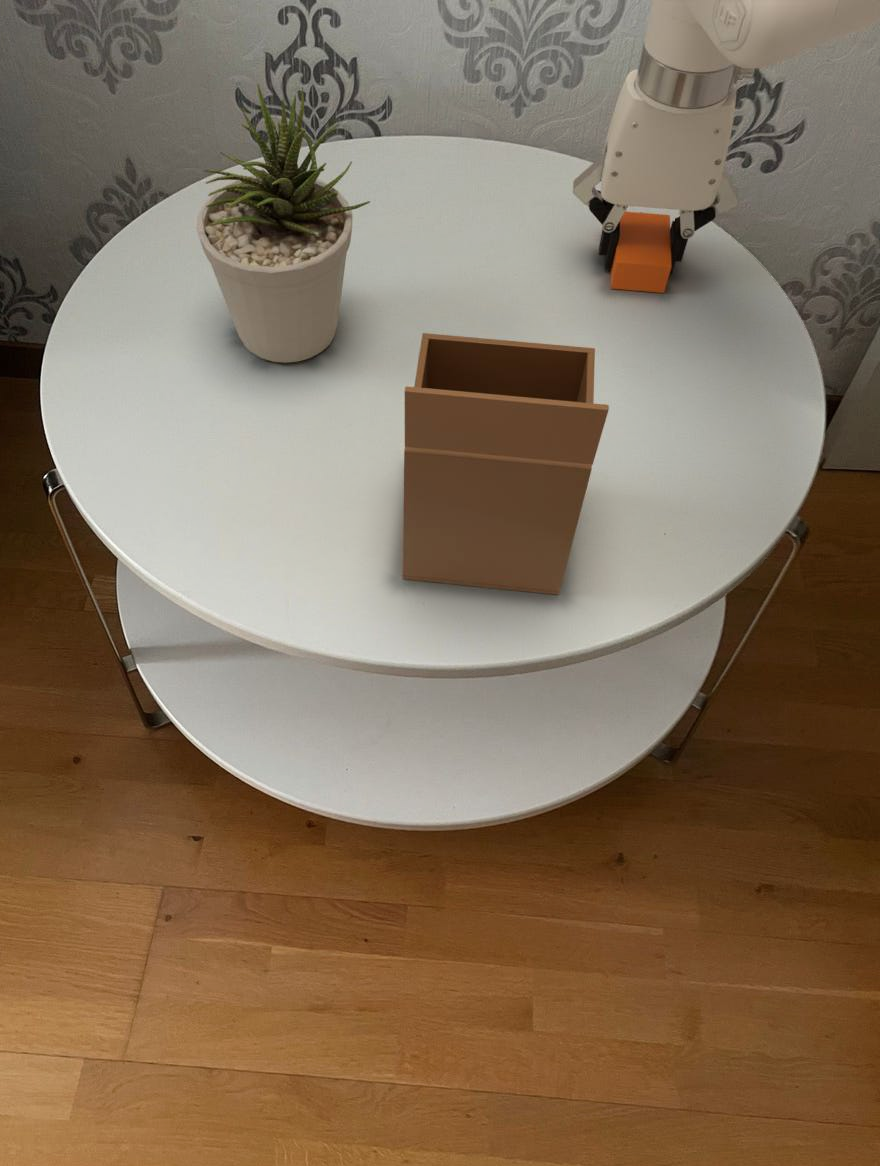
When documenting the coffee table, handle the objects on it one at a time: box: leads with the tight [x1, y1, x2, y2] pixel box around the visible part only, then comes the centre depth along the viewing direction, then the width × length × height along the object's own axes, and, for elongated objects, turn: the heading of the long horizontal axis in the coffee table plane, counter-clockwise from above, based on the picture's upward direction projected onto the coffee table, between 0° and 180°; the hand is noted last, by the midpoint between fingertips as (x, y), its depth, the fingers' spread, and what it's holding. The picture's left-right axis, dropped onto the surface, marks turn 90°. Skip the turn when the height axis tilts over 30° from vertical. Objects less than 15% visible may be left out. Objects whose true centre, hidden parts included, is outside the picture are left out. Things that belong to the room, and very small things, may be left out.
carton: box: [402, 332, 596, 596], centre depth 72 cm, size 12×11×14 cm
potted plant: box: [196, 82, 371, 364], centre depth 81 cm, size 13×14×20 cm
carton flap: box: [404, 385, 610, 466], centre depth 60 cm, size 12×5×1 cm
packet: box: [610, 211, 672, 294], centre depth 93 cm, size 8×5×3 cm, turn 173°
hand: (638, 261), depth 94 cm, fingers closed on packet, 5 cm apart
